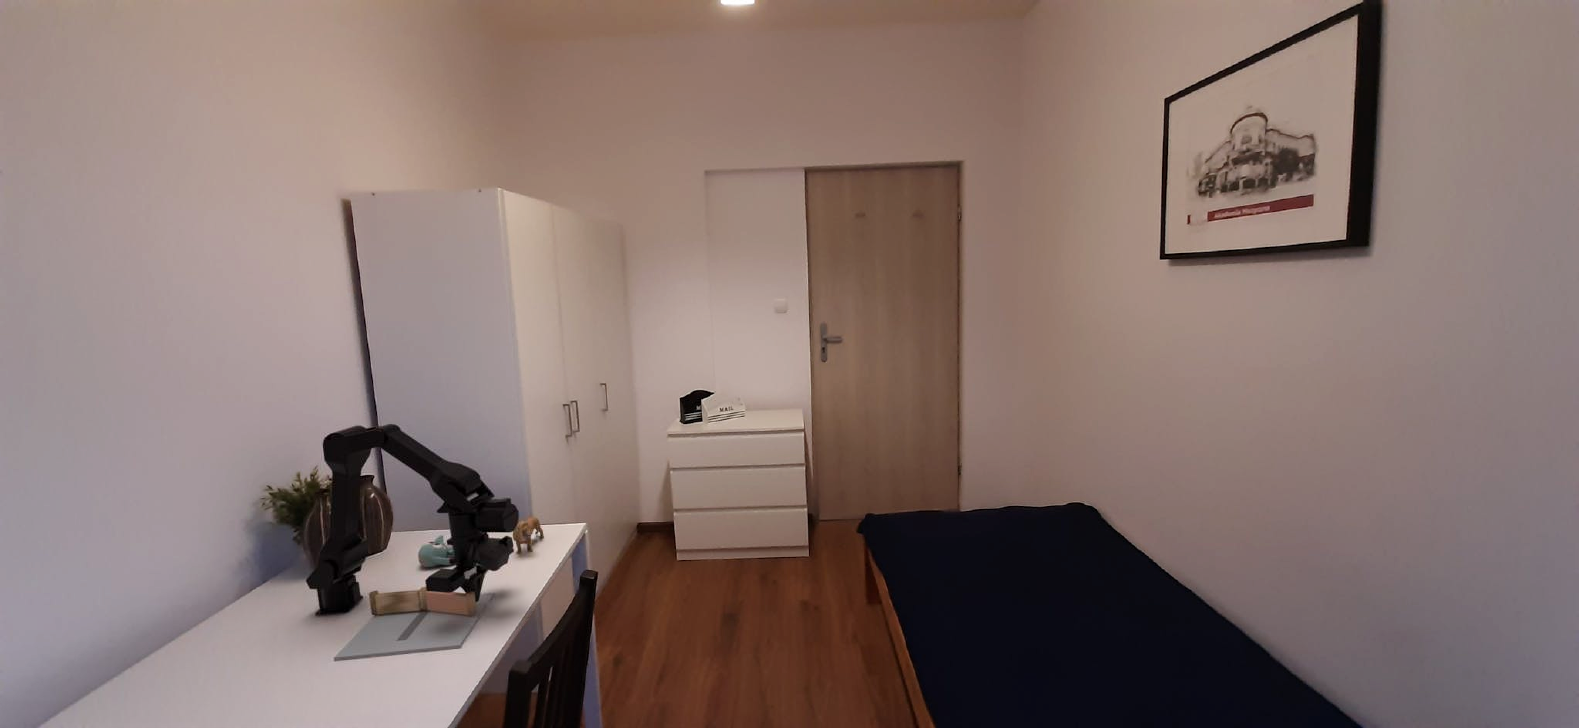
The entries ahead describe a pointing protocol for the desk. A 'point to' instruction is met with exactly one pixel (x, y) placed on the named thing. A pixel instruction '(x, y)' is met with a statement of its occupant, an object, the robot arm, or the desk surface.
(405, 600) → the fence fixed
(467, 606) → the fence panel
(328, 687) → the desk surface
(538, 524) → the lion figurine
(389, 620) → the card
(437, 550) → the stuffed animal
